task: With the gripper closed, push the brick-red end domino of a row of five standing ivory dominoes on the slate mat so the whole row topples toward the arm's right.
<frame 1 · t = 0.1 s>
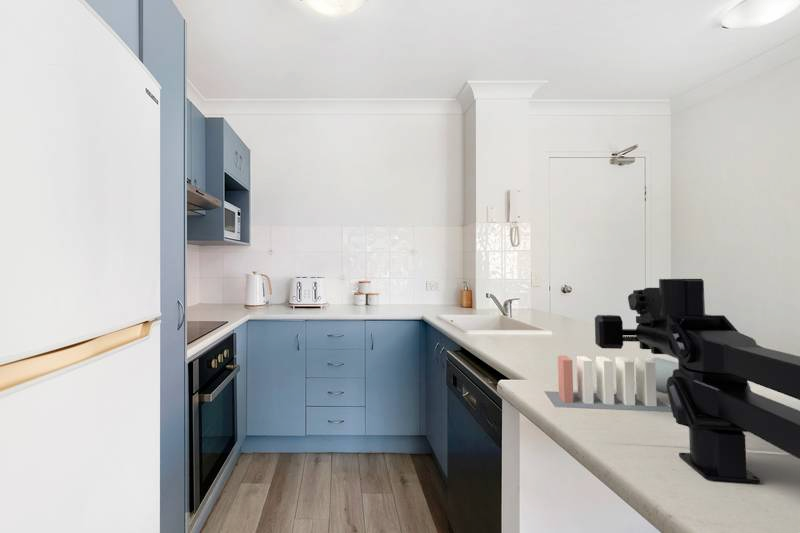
hand: (629, 326, 76), 17 cm above the countertop, tool horizontal, fingers open, 9 cm apart
domino 2: (585, 399, 78), resting on slate mat
domino 4: (625, 401, 76), resting on slate mat
domino 1: (566, 399, 78), resting on slate mat
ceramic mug: (674, 393, 83), on the countertop
slate mat: (605, 402, 77), on the countertop
domino 3: (605, 400, 77), resting on slate mat
domino 5: (646, 402, 76), resting on slate mat
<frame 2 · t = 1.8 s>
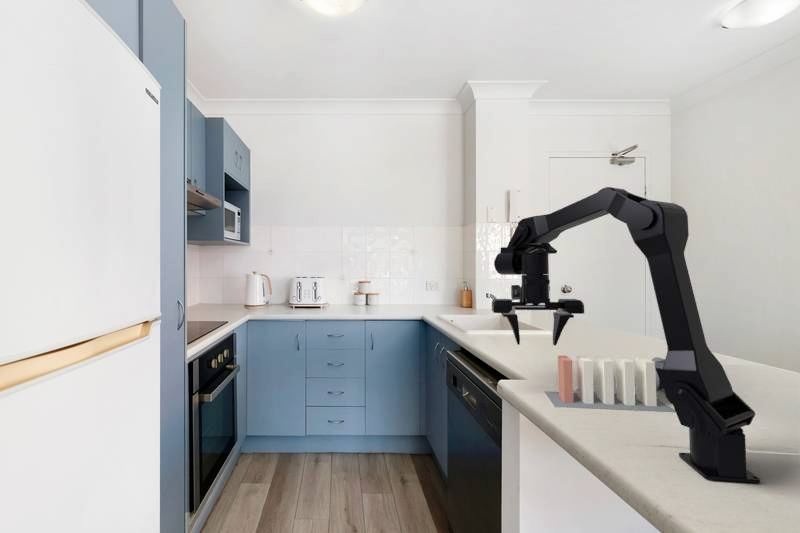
hand: (536, 344, 80), 12 cm above the countertop, tool pointing down, fingers open, 7 cm apart
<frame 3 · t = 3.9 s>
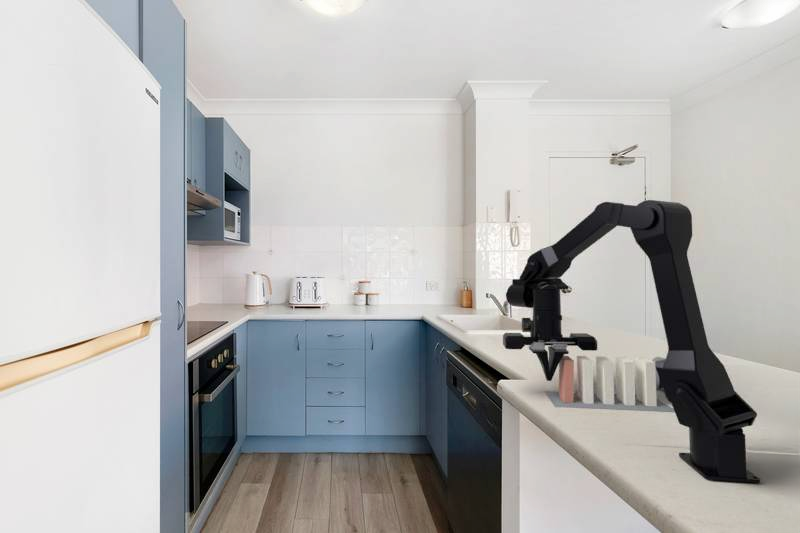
hand: (548, 380, 79), 4 cm above the countertop, tool pointing down, fingers closed
domino 1: (565, 399, 78), resting on slate mat, touching gripper
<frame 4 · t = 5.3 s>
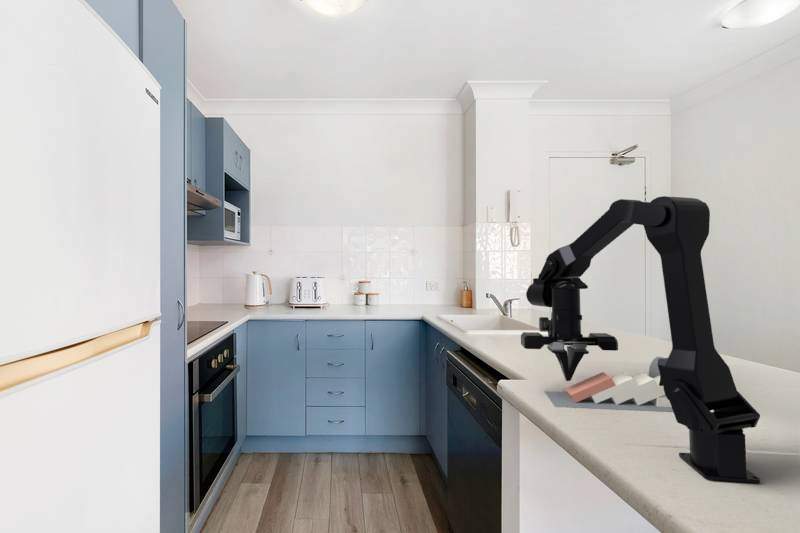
hand: (567, 380, 78), 4 cm above the countertop, tool pointing down, fingers closed
domino 2: (590, 396, 77), point 1 cm above the countertop, tilted 64°, touching domino 1, domino 3
domino 4: (630, 397, 76), point 1 cm above the countertop, tilted 64°, touching domino 3, domino 5
domino 1: (569, 395, 78), point 1 cm above the countertop, tilted 64°, touching domino 2, slate mat
domino 3: (609, 397, 77), point 1 cm above the countertop, tilted 64°, touching domino 2, domino 4, slate mat
domino 5: (651, 398, 75), point 1 cm above the countertop, tilted 90°, touching domino 4, slate mat
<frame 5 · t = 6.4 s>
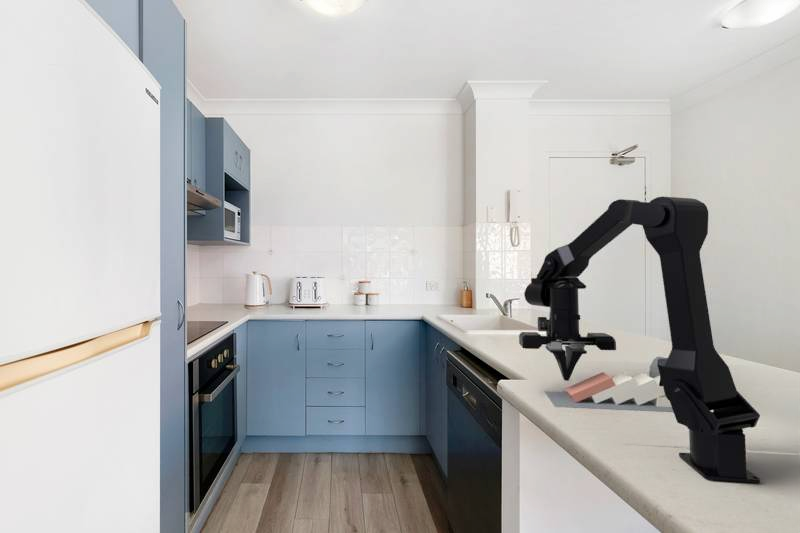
hand: (566, 380, 78), 5 cm above the countertop, tool pointing down, fingers closed
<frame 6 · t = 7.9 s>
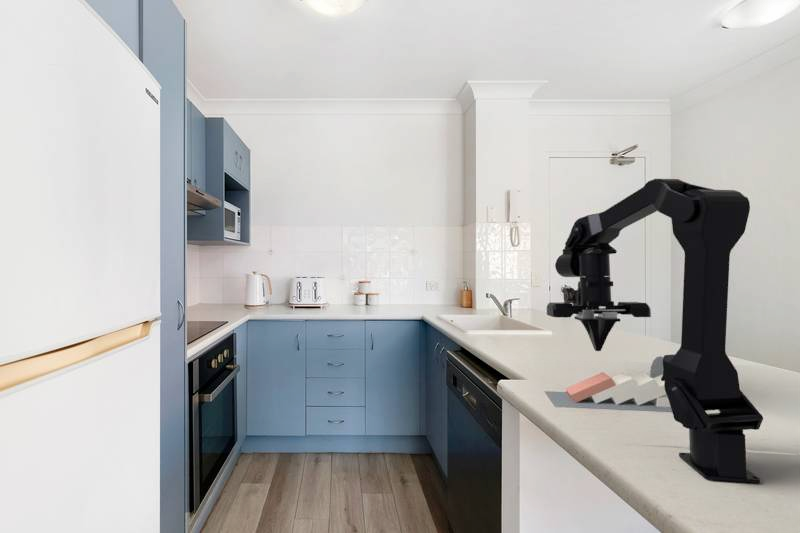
hand: (597, 350, 75), 12 cm above the countertop, tool pointing down, fingers closed
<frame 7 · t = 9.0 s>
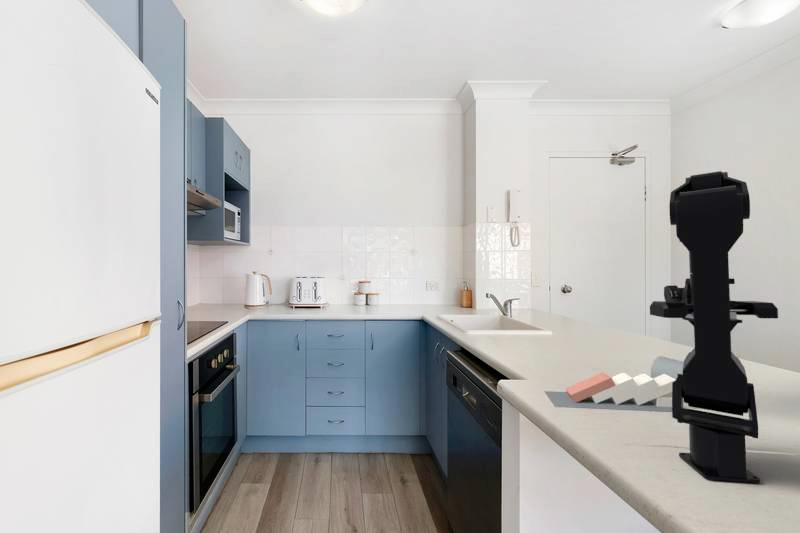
hand: (711, 354, 68), 12 cm above the countertop, tool pointing down, fingers closed
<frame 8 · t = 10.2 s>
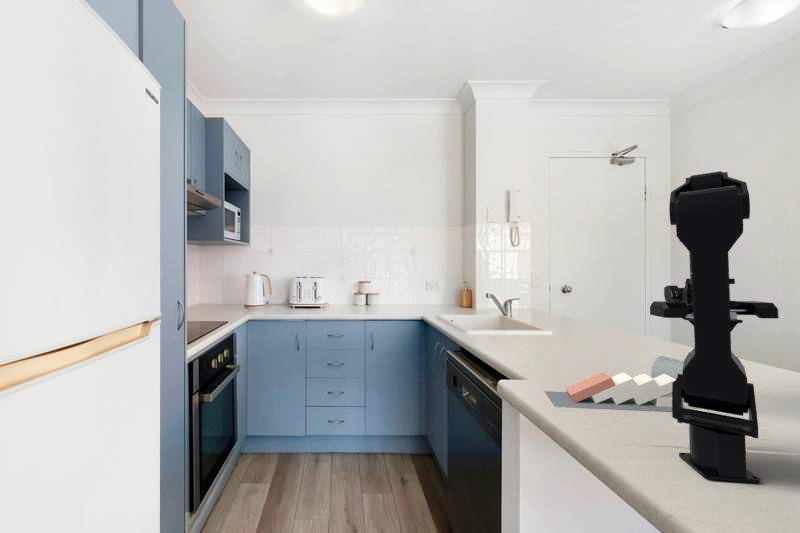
hand: (712, 354, 68), 12 cm above the countertop, tool pointing down, fingers closed
at the end: domino 5 tilted 90°; domino 1 tilted 64° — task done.
